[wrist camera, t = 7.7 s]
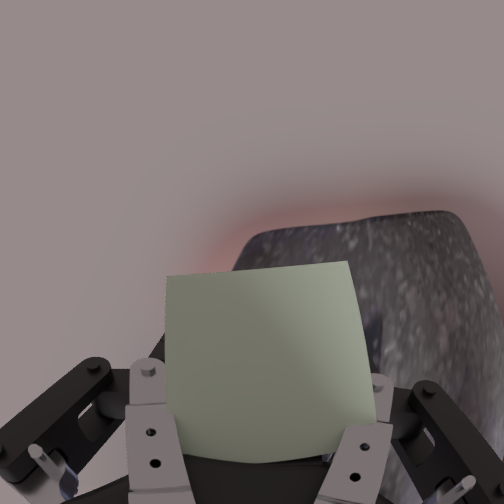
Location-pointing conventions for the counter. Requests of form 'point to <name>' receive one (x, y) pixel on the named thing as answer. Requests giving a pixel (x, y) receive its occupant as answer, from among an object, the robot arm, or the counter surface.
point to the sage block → (266, 362)
